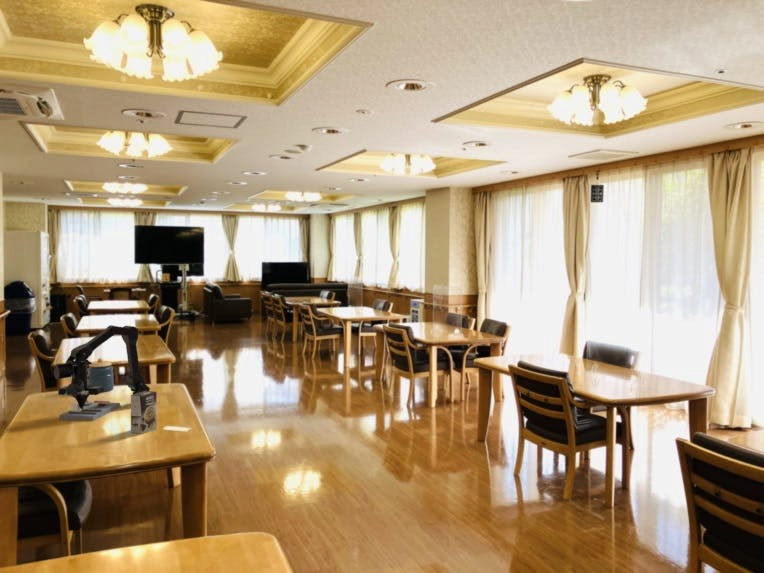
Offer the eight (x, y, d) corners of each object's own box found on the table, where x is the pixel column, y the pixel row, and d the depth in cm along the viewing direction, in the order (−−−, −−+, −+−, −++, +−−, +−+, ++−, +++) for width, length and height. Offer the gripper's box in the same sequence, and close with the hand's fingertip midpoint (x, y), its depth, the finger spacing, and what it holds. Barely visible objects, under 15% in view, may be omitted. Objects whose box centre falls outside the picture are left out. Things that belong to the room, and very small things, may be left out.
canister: (118, 387, 327) (118, 356, 326) (105, 393, 314) (104, 360, 313) (96, 386, 328) (95, 355, 327) (82, 392, 315) (81, 359, 314)
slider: (81, 410, 272) (81, 403, 272) (77, 412, 269) (77, 405, 269) (75, 410, 272) (75, 403, 272) (71, 412, 269) (71, 405, 269)
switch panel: (120, 407, 287) (119, 401, 287) (93, 420, 265) (93, 414, 264) (88, 405, 289) (88, 400, 289) (59, 419, 266) (59, 413, 266)
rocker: (109, 403, 285) (109, 401, 286) (101, 403, 279) (102, 400, 279) (101, 403, 286) (101, 400, 286) (93, 403, 279) (94, 400, 279)
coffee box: (142, 434, 247) (142, 396, 246) (130, 432, 249) (129, 394, 248) (157, 428, 255) (157, 391, 254) (145, 426, 257) (145, 390, 256)
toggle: (89, 401, 284) (86, 393, 283) (87, 402, 282) (84, 394, 282) (87, 402, 284) (83, 394, 284) (85, 403, 282) (81, 395, 282)
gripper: (49, 379, 262) (51, 413, 263) (89, 379, 261) (91, 413, 262) (64, 374, 273) (66, 407, 274) (103, 374, 272) (105, 407, 273)
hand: (81, 408), depth 270 cm, fingers closed
